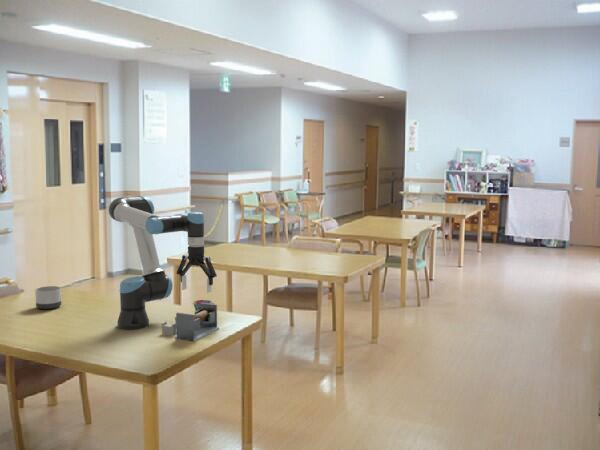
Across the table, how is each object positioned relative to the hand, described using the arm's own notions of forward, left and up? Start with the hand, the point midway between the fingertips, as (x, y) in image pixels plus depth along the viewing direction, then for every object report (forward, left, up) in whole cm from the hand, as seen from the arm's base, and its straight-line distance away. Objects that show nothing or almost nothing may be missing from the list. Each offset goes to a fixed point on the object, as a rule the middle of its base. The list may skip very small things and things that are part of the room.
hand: (196, 290), depth 293 cm
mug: (-7, +18, -21) cm, 28 cm away
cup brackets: (0, 0, -21) cm, 21 cm away
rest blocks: (-12, 0, -21) cm, 24 cm away
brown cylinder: (0, 0, -16) cm, 16 cm away
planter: (-100, +9, -21) cm, 102 cm away
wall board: (0, 0, -21) cm, 21 cm away
